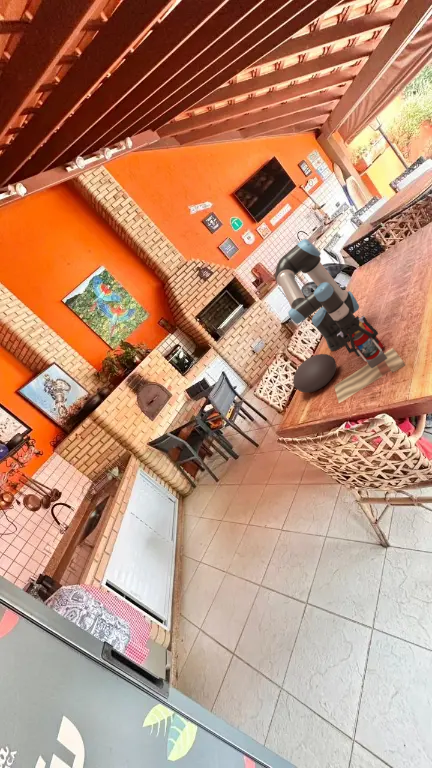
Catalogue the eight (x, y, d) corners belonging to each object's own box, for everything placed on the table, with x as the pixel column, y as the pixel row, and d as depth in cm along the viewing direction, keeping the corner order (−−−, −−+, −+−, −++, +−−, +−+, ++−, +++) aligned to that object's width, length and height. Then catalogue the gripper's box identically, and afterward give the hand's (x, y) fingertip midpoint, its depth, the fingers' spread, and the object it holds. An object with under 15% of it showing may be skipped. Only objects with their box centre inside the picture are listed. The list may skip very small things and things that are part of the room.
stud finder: (369, 364, 182) (364, 357, 181) (384, 354, 179) (379, 347, 178) (371, 368, 177) (366, 362, 176) (387, 358, 174) (382, 351, 173)
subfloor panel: (335, 387, 191) (334, 385, 191) (394, 349, 178) (392, 347, 178) (340, 405, 175) (338, 403, 175) (405, 364, 162) (403, 362, 162)
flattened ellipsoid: (339, 388, 188) (320, 366, 184) (299, 405, 205) (281, 386, 201) (346, 360, 205) (329, 340, 202) (308, 378, 222) (292, 360, 219)
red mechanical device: (386, 349, 183) (362, 318, 179) (367, 362, 187) (343, 332, 182) (378, 339, 197) (355, 310, 193) (361, 351, 201) (338, 322, 196)
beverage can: (371, 362, 165) (355, 341, 162) (364, 359, 171) (348, 339, 169) (383, 351, 164) (367, 331, 161) (376, 349, 171) (360, 329, 168)
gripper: (323, 332, 163) (354, 371, 168) (364, 302, 155) (396, 344, 160) (321, 327, 170) (352, 364, 175) (360, 298, 162) (391, 338, 167)
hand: (373, 354), depth 168 cm, fingers closed on beverage can, 7 cm apart
